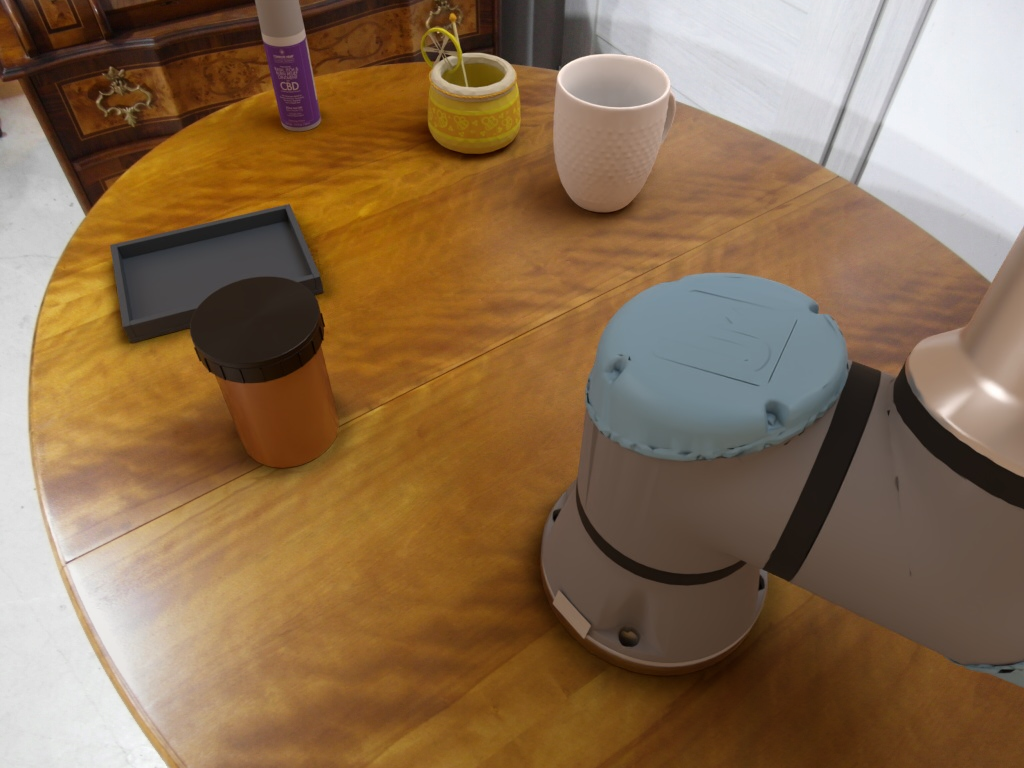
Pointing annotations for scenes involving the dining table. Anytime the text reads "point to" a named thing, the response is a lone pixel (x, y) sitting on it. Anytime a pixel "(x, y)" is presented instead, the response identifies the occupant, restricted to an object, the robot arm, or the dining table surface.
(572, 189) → the mug
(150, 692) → the dining table surface
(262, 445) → the jar
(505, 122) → the yellow honey pot
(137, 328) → the tray
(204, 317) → the jar lid
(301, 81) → the container
